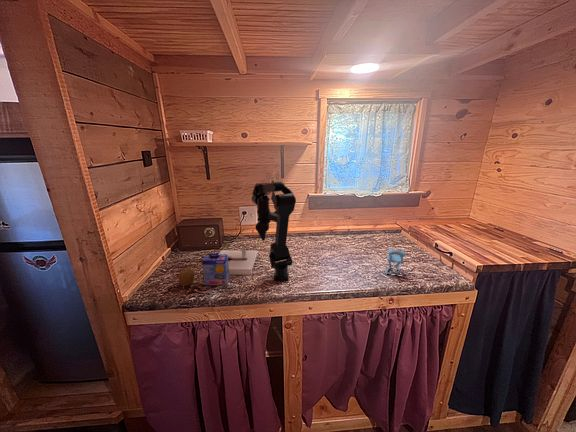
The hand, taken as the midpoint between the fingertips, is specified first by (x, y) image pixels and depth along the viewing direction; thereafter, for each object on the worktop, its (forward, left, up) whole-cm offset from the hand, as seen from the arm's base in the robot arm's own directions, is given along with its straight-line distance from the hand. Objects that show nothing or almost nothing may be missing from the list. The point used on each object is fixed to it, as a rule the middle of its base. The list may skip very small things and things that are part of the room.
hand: (264, 237), depth 119 cm
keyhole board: (-7, +14, -12) cm, 20 cm away
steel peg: (-7, +10, -12) cm, 17 cm away
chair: (-13, -63, -12) cm, 65 cm away
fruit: (-26, +30, -12) cm, 42 cm away
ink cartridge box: (-23, +18, -12) cm, 32 cm away
